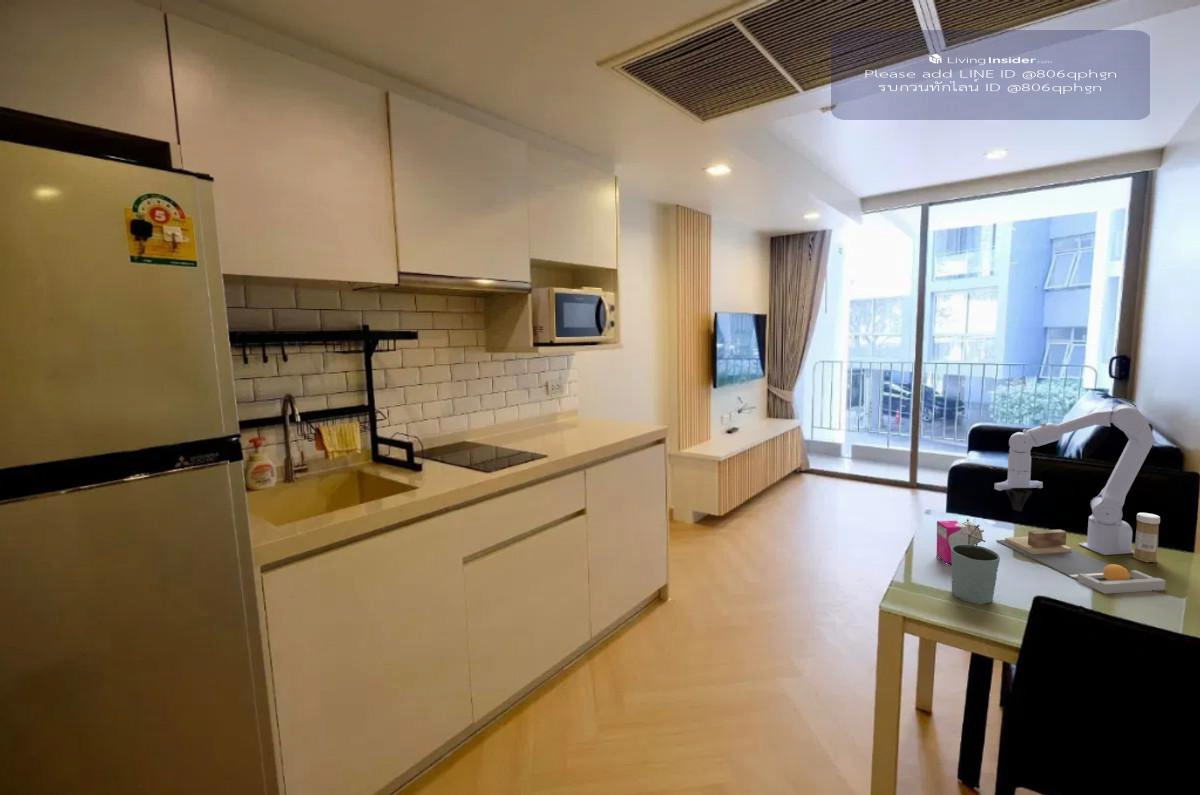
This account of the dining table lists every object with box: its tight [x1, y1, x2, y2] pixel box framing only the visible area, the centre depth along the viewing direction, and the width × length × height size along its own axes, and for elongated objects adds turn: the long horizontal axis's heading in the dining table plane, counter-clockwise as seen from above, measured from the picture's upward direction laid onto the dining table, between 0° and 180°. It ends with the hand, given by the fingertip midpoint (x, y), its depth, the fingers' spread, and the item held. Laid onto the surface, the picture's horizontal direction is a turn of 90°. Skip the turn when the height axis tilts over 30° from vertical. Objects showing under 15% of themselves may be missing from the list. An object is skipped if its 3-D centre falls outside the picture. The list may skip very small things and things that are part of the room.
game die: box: [961, 518, 986, 546], centre depth 161 cm, size 9×8×10 cm
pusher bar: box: [1027, 528, 1068, 547], centre depth 155 cm, size 10×2×4 cm, turn 92°
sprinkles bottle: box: [1133, 512, 1161, 563], centre depth 146 cm, size 5×5×14 cm
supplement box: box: [936, 520, 968, 565], centre depth 152 cm, size 6×6×12 cm
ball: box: [1103, 563, 1131, 581], centre depth 135 cm, size 5×5×5 cm
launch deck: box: [996, 535, 1166, 595], centre depth 147 cm, size 16×34×2 cm, turn 2°
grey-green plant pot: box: [950, 544, 1001, 604], centre depth 132 cm, size 10×10×12 cm
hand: (1017, 510), depth 167 cm, fingers closed
